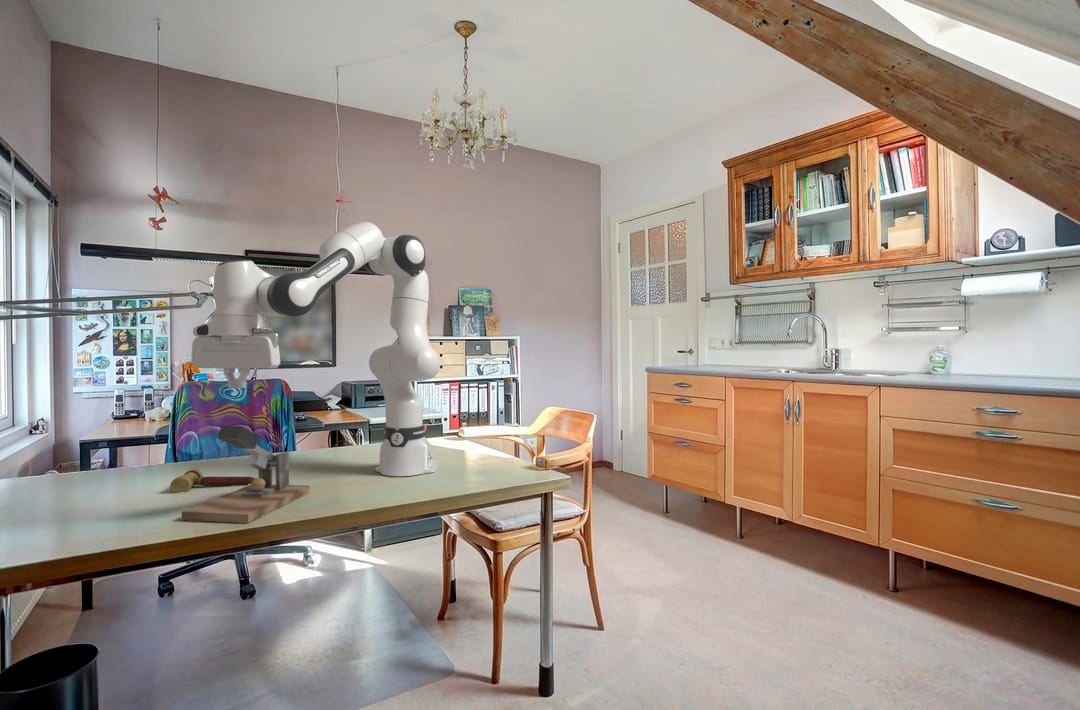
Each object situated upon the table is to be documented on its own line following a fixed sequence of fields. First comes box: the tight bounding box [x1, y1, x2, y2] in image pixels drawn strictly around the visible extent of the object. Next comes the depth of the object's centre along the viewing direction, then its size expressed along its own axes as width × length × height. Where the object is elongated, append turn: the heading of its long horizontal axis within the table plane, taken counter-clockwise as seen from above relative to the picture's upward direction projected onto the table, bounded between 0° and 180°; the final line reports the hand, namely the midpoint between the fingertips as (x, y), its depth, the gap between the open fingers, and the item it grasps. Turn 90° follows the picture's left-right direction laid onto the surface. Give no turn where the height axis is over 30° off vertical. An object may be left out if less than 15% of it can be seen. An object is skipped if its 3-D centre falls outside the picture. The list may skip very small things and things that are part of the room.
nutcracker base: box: [181, 451, 310, 524], centre depth 128 cm, size 24×16×11 cm, turn 173°
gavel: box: [169, 468, 256, 494], centre depth 147 cm, size 21×5×10 cm
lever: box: [217, 425, 277, 470], centre depth 129 cm, size 20×5×6 cm, turn 173°
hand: (236, 388), depth 123 cm, fingers closed
